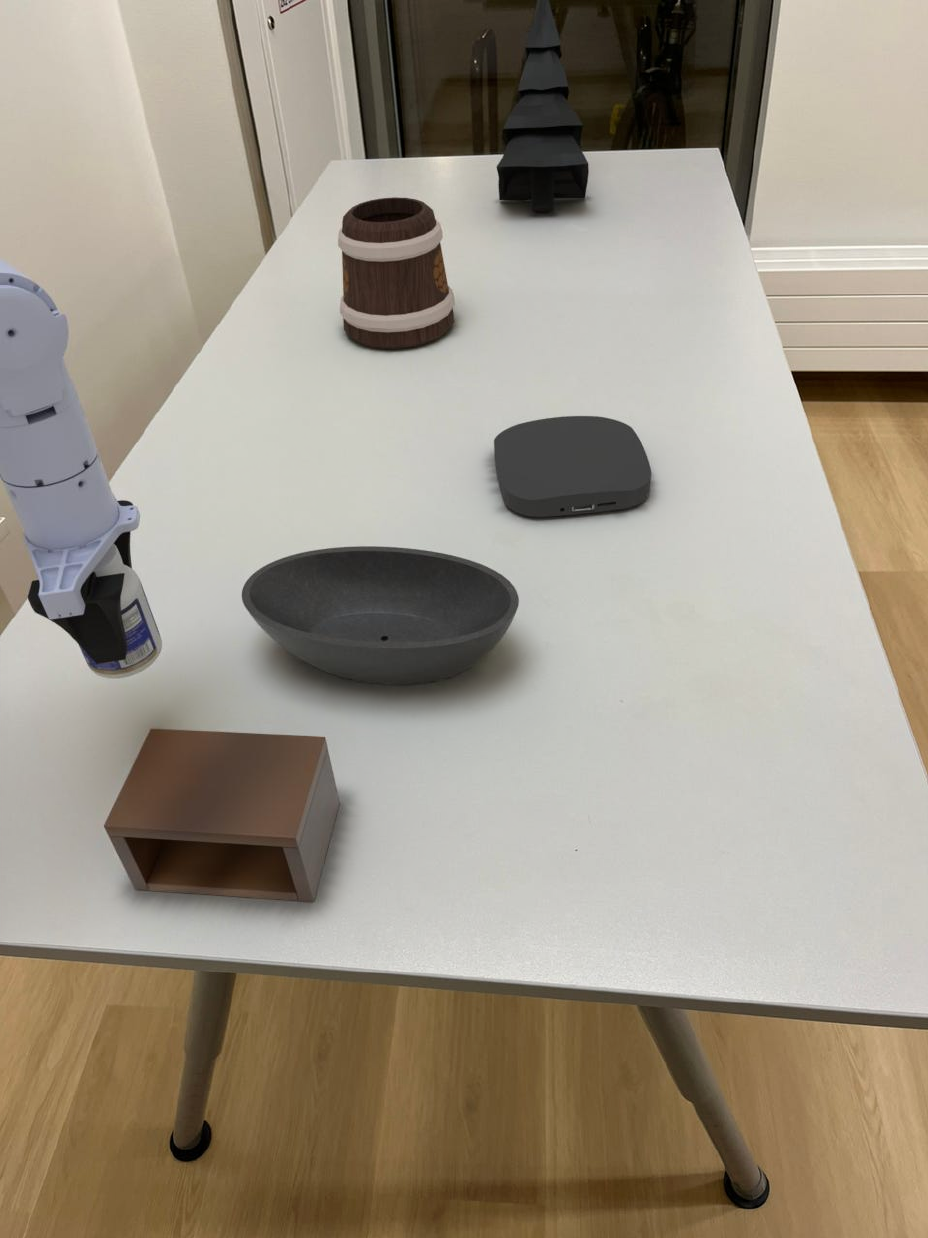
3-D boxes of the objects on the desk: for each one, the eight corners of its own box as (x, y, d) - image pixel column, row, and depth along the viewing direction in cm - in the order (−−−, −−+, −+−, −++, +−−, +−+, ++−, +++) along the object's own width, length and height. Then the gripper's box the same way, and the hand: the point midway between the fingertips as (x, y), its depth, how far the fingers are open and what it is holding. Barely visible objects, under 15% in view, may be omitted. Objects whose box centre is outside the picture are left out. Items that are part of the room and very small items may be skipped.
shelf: (134, 890, 62) (103, 826, 58) (176, 792, 68) (150, 728, 64) (314, 902, 61) (295, 837, 56) (340, 802, 67) (325, 736, 62)
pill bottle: (95, 635, 70) (54, 536, 64) (167, 626, 70) (133, 527, 64) (81, 685, 66) (36, 585, 60) (158, 676, 66) (121, 575, 60)
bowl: (508, 719, 72) (505, 660, 67) (233, 691, 75) (216, 633, 71) (530, 615, 80) (529, 556, 76) (284, 595, 84) (270, 538, 80)
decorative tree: (585, 222, 161) (587, 4, 158) (589, 191, 147) (591, -50, 143) (499, 225, 163) (499, 9, 159) (494, 195, 148) (494, -44, 145)
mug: (449, 352, 119) (440, 230, 109) (331, 352, 121) (313, 232, 111) (466, 289, 134) (460, 177, 124) (361, 290, 136) (347, 179, 126)
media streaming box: (490, 445, 102) (488, 421, 100) (625, 432, 102) (626, 407, 100) (507, 524, 91) (506, 498, 89) (658, 509, 91) (661, 482, 89)
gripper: (103, 519, 52) (167, 693, 61) (127, 397, 63) (179, 560, 72) (-30, 538, 52) (54, 711, 60) (18, 411, 62) (83, 574, 71)
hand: (115, 630), depth 66 cm, fingers closed on pill bottle, 5 cm apart
